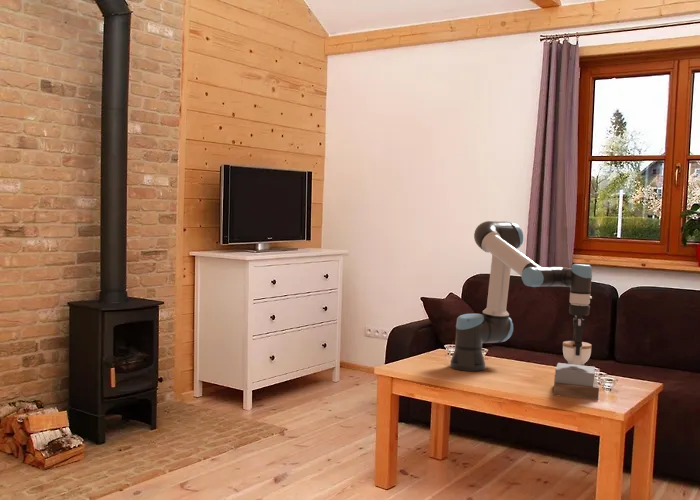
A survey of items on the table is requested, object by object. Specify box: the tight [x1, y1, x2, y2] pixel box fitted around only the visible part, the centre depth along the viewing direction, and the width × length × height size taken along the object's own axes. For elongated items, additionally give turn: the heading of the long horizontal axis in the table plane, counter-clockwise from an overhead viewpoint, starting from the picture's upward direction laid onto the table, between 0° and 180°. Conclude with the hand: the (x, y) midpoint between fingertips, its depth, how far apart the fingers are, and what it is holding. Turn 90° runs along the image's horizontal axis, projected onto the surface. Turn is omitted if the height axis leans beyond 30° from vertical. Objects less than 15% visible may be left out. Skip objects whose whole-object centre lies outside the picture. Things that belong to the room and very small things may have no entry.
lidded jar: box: [562, 340, 593, 366], centre depth 286 cm, size 11×11×9 cm
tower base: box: [553, 376, 600, 401], centre depth 286 cm, size 16×16×5 cm
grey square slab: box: [554, 362, 596, 387], centre depth 287 cm, size 14×14×5 cm
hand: (576, 360), depth 286 cm, fingers closed on lidded jar, 11 cm apart
